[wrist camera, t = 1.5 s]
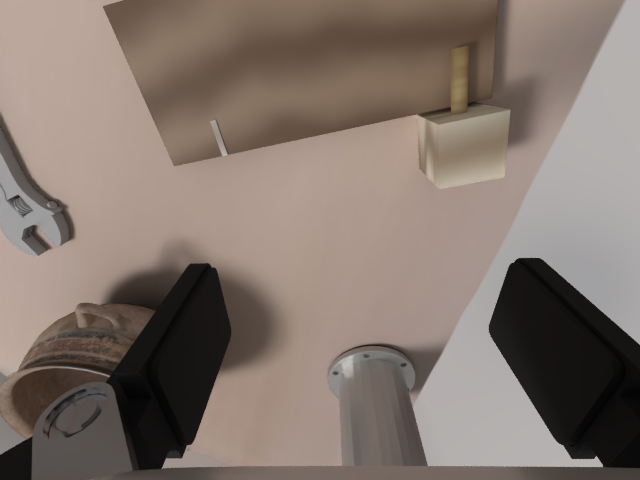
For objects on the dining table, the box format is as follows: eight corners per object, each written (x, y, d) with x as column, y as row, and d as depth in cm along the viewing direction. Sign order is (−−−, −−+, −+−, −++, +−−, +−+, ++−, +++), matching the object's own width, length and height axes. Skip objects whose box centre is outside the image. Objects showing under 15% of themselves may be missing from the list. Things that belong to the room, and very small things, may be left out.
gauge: (472, 158, 29) (504, 177, 24) (419, 168, 29) (439, 189, 24) (476, 42, 24) (517, 34, 19) (413, 57, 25) (437, 53, 20)
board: (480, 96, 26) (492, 98, 24) (183, 160, 29) (173, 166, 28) (489, -94, 20) (505, -111, 19) (119, 11, 24) (101, 6, 22)
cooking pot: (53, 245, 34) (-70, 323, 24) (219, 264, 35) (173, 348, 25) (101, 383, 46) (35, 476, 36) (224, 395, 47) (195, 489, 37)
